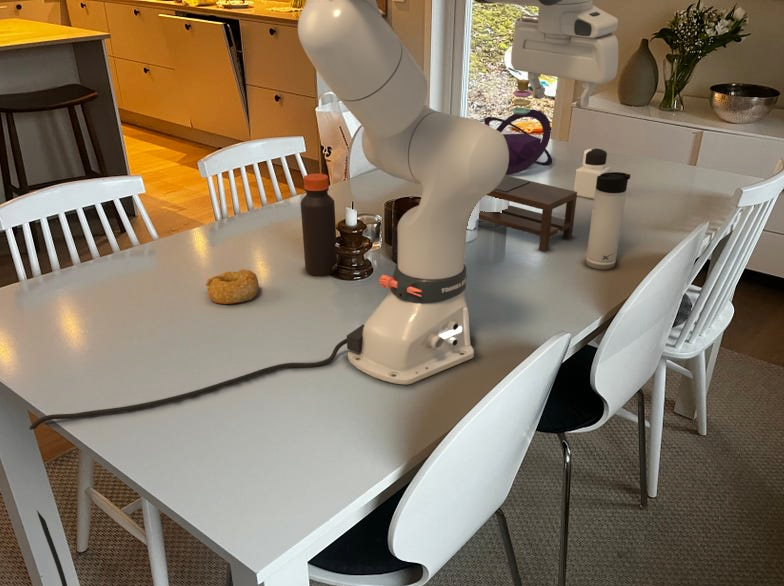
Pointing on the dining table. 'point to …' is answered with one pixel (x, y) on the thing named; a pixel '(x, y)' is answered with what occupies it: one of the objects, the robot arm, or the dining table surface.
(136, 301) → the dining table surface
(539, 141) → the decorative bottle
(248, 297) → the bagel
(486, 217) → the coffee table
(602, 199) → the travel mug
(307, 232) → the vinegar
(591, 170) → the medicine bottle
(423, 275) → the robot arm
